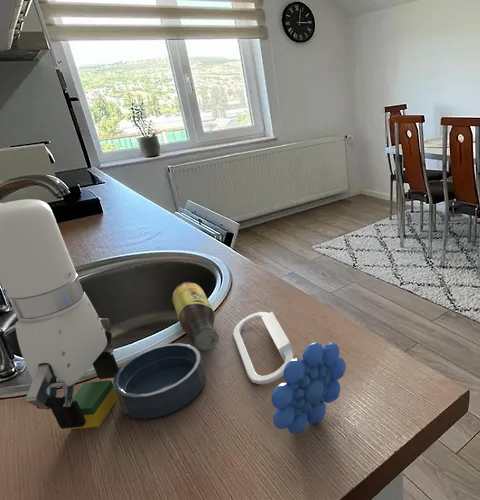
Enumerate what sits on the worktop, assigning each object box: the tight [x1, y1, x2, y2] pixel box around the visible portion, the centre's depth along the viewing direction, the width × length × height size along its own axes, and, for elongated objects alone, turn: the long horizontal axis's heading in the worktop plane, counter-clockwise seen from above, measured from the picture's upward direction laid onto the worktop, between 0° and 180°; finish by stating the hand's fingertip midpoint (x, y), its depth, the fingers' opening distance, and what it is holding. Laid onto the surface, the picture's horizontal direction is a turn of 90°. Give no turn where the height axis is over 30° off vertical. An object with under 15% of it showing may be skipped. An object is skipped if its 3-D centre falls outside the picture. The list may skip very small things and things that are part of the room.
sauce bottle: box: [171, 281, 219, 352], centre depth 79 cm, size 6×6×20 cm
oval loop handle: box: [232, 311, 297, 385], centre depth 71 cm, size 20×8×4 cm, turn 25°
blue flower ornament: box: [270, 342, 347, 435], centre depth 55 cm, size 12×7×12 cm, turn 130°
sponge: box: [70, 379, 119, 430], centre depth 60 cm, size 4×6×4 cm
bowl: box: [112, 342, 207, 419], centre depth 63 cm, size 12×12×4 cm
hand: (93, 399), depth 60 cm, fingers open, 9 cm apart
